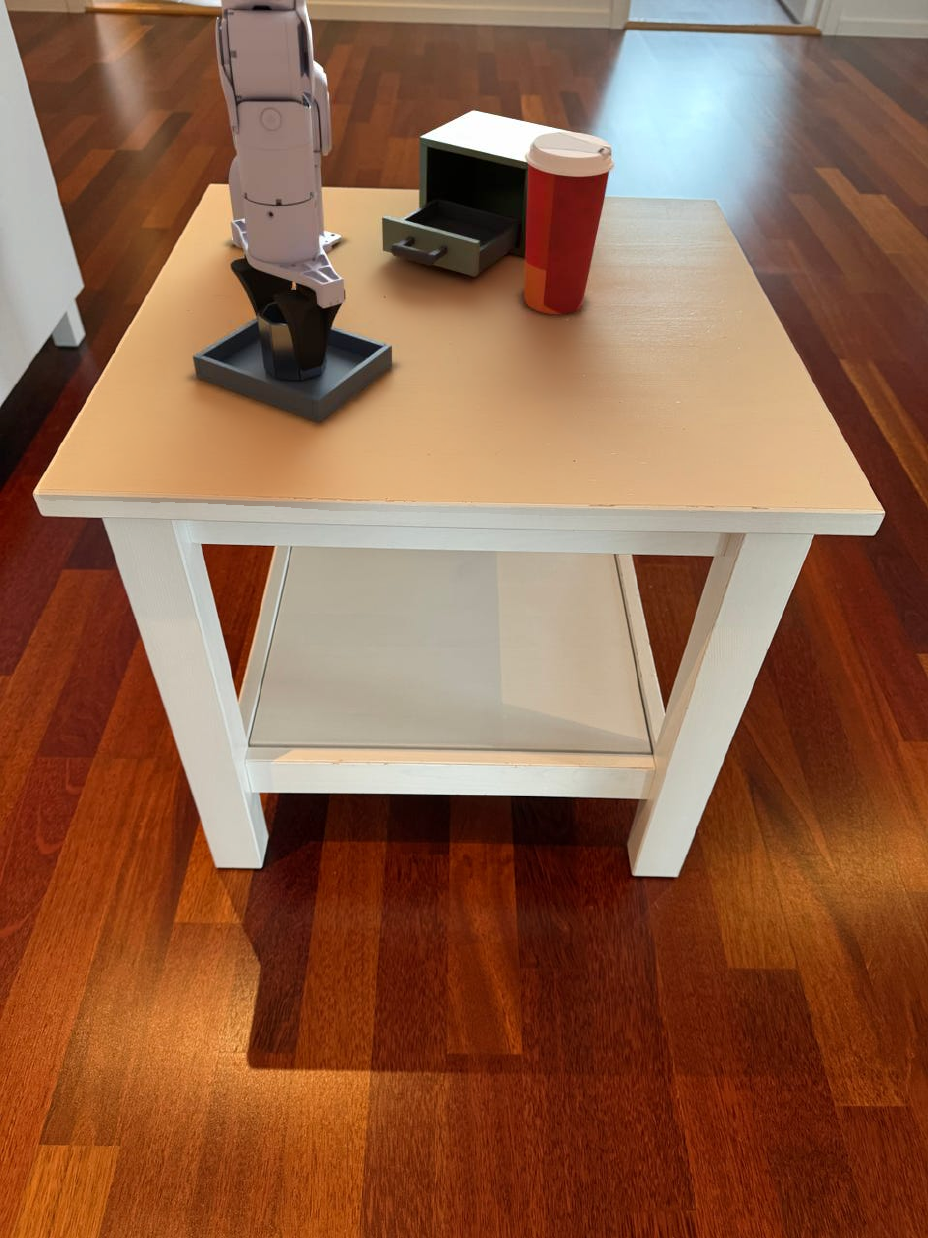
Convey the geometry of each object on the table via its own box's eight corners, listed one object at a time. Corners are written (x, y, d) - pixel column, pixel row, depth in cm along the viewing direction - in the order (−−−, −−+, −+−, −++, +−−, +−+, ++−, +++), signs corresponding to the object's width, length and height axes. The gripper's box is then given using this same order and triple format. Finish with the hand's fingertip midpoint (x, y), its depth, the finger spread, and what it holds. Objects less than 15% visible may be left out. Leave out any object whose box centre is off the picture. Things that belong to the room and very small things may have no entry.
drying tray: (196, 377, 80) (192, 355, 79) (275, 327, 88) (273, 306, 86) (319, 423, 76) (317, 400, 75) (392, 366, 83) (392, 345, 82)
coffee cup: (603, 294, 96) (628, 139, 85) (577, 326, 90) (599, 165, 80) (529, 276, 98) (544, 123, 88) (499, 307, 93) (511, 147, 82)
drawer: (363, 262, 97) (362, 228, 94) (435, 218, 106) (435, 186, 103) (457, 290, 93) (459, 255, 90) (522, 242, 102) (525, 209, 100)
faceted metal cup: (254, 361, 82) (248, 307, 78) (305, 345, 84) (300, 292, 80) (284, 386, 79) (279, 331, 75) (336, 369, 81) (333, 315, 78)
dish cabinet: (418, 228, 106) (419, 136, 99) (469, 197, 114) (473, 109, 107) (526, 257, 102) (535, 163, 95) (571, 223, 109) (582, 133, 102)
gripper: (374, 212, 69) (378, 374, 78) (276, 155, 77) (291, 309, 86) (293, 232, 66) (307, 399, 75) (199, 170, 74) (223, 329, 83)
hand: (294, 353), depth 81 cm, fingers closed on faceted metal cup, 5 cm apart
